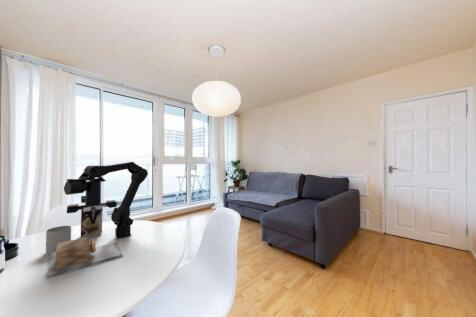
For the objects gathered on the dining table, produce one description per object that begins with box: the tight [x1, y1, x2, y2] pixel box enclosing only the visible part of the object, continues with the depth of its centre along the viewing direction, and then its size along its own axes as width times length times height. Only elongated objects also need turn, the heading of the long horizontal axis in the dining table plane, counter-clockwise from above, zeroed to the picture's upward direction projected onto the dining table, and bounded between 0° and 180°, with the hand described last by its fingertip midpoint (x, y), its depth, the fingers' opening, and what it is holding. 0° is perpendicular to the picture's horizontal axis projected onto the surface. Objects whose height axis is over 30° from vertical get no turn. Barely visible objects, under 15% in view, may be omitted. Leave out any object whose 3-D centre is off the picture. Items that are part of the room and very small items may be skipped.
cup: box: [45, 225, 72, 256], centre depth 87 cm, size 8×8×10 cm
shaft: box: [50, 240, 97, 260], centre depth 77 cm, size 14×5×5 cm, turn 131°
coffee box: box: [80, 208, 104, 239], centre depth 106 cm, size 9×6×16 cm
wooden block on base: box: [46, 237, 124, 279], centre depth 80 cm, size 23×16×8 cm
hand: (92, 224), depth 91 cm, fingers closed
